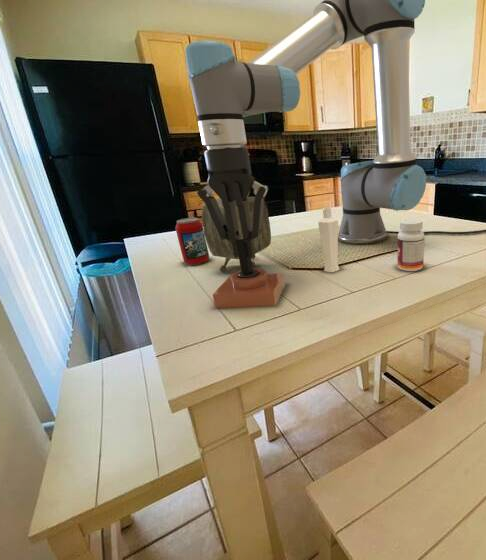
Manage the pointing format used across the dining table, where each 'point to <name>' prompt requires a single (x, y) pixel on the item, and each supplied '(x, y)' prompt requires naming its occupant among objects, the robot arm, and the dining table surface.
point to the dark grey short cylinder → (250, 275)
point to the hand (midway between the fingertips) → (247, 271)
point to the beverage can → (192, 241)
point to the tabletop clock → (225, 246)
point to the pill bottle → (410, 245)
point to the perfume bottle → (329, 240)
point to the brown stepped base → (250, 290)
